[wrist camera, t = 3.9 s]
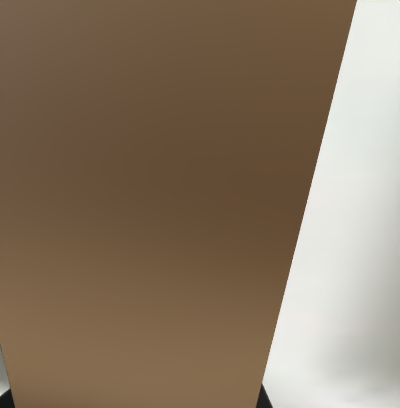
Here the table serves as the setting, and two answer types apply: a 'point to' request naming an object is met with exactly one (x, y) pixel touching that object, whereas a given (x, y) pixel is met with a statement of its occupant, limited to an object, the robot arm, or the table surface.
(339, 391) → the table surface
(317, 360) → the table surface
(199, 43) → the walnut rod
